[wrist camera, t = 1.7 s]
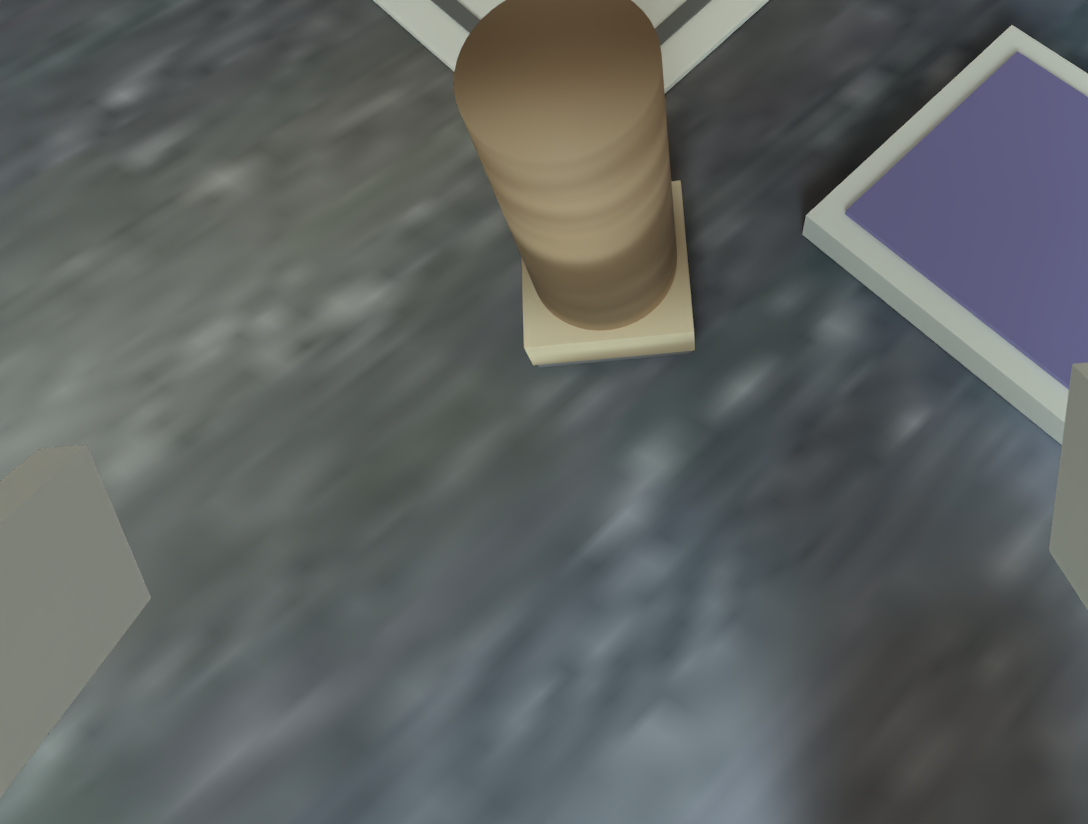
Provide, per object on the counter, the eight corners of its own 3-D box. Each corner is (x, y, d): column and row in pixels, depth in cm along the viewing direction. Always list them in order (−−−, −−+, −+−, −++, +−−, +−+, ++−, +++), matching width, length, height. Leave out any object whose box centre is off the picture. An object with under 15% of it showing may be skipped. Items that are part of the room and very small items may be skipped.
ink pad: (802, 234, 29) (806, 212, 28) (1000, 50, 30) (1013, 20, 28) (1135, 504, 25) (1158, 493, 24) (1354, 284, 26) (1389, 261, 24)
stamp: (695, 356, 28) (686, 156, 18) (536, 370, 29) (439, 187, 19) (682, 213, 30) (666, -47, 20) (531, 230, 31) (440, -11, 20)
